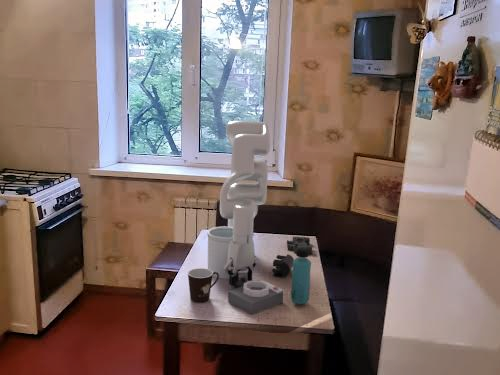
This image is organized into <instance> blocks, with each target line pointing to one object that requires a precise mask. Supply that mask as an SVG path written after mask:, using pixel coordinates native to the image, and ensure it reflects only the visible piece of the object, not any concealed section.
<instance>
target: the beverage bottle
mask: <svg viewBox="0 0 500 375" xmlns="http://www.w3.org/2000/svg"><path fill="white" fill-rule="evenodd" d="M295 255H296V256H297V257H296V258H294V261H293V267H292V273H291V290H290V300H291V301H292V302H293V303H295V304H299V305H304V304H307V303H308V302H309V301H310V285H311V268H312V267H311V266H312V261H311V260H309V259H308V258H309V255H310V254H308V250H307V249H303V248H300V249H297V253H295Z"/></svg>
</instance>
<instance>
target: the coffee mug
mask: <svg viewBox="0 0 500 375" xmlns="http://www.w3.org/2000/svg"><path fill="white" fill-rule="evenodd" d="M213 274H217V277H216V279H215V280H214V282H213V277H214V276H213ZM187 278H188V288H189V296H190V300H191V302H192V303H195V304H205V303H207V302H209V301H210V296H211V289H212V288H213V286H215V285H216V283H217V282H218V280H219V279H220V278H219V274H218V273H217V272H212V271H211V270H209V269H208V268H204V267H198V268H192V269H190V270H189V271H188V272H187ZM212 282H213V283H212Z"/></svg>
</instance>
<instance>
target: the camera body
mask: <svg viewBox="0 0 500 375" xmlns="http://www.w3.org/2000/svg"><path fill="white" fill-rule="evenodd" d="M284 291H285V290H284V289H283V288H280V287H278V286H276V285H274V284H271V283H269V282H267V281H265V280H263V279H260V278H259V279H256V280H252V281H248V282H246V283H244V286H242V287H239V288H236V289H235V288H233V289H231V290H228V293H227V296H228V298H227V302H228V303H229V304H231V305H234V306H235V307H237V308H238V309H240V310H242V311H244V312H245V313H248V314H250V315H255V314H257V313H259V312H262V311H264V310H268V309H269V308H272V307H275V306H277V305H279V304H282V303H283V302H284Z"/></svg>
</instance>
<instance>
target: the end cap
mask: <svg viewBox="0 0 500 375" xmlns="http://www.w3.org/2000/svg"><path fill="white" fill-rule="evenodd" d="M275 258H276V259H274V260H273V263H272V267H275V268H272V277H275V278H276V277H277V278H285V277H288V275H290V272H291V271H292V270H293V261H294V260H295V258H294V257H293V255H291V254H286V255H280V254H277V255H276V257H275Z"/></svg>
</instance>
